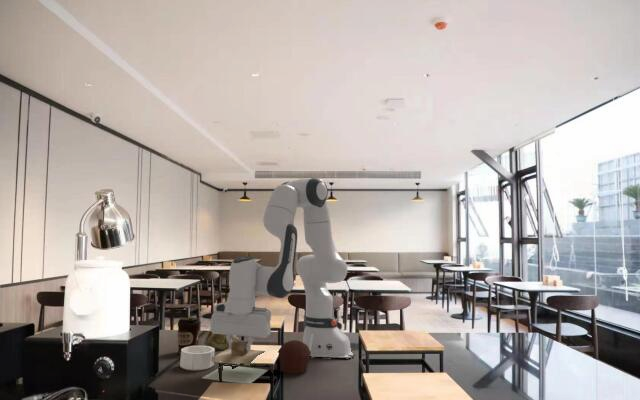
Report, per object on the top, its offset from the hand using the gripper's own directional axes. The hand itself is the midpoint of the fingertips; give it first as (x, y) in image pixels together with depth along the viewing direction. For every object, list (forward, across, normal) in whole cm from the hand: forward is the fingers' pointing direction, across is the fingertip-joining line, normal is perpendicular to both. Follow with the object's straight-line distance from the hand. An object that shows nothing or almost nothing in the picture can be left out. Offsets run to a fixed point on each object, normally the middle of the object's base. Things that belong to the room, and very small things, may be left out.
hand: (239, 349), depth 140 cm
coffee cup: (+8, +29, -18) cm, 35 cm away
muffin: (+9, -16, -10) cm, 21 cm away
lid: (+3, 0, 0) cm, 3 cm away
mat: (+8, 0, +1) cm, 8 cm away
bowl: (+8, +16, -2) cm, 19 cm away
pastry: (+9, +22, -32) cm, 40 cm away
